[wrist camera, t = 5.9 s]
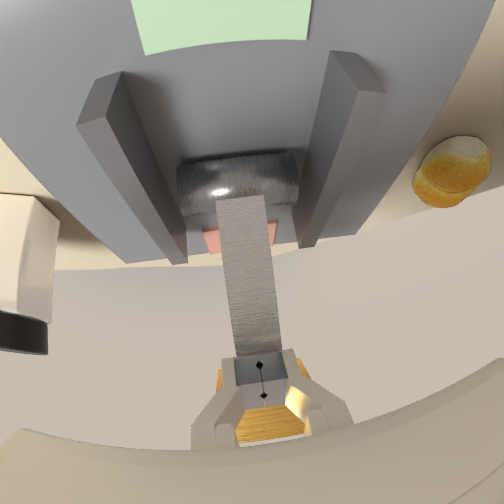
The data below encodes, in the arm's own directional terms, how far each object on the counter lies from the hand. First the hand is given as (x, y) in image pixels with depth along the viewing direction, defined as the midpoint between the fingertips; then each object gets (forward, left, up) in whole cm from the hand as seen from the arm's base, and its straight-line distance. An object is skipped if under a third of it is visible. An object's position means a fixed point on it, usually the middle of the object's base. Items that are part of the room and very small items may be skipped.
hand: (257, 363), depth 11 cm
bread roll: (-20, +4, -13) cm, 25 cm away
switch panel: (0, -2, -13) cm, 13 cm away
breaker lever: (0, -2, -9) cm, 9 cm away
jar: (+20, +4, -13) cm, 24 cm away
